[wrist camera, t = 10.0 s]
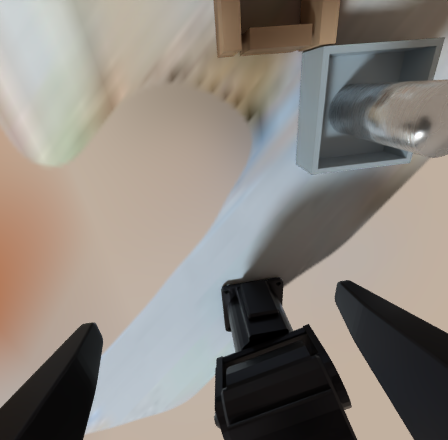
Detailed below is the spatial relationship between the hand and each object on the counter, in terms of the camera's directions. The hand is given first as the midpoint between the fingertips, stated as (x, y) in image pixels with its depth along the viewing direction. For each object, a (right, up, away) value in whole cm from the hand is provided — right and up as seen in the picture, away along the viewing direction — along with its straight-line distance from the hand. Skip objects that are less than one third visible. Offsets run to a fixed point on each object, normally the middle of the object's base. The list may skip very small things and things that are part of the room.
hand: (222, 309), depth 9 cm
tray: (+10, +12, +10) cm, 18 cm away
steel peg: (+10, +12, +10) cm, 18 cm away
